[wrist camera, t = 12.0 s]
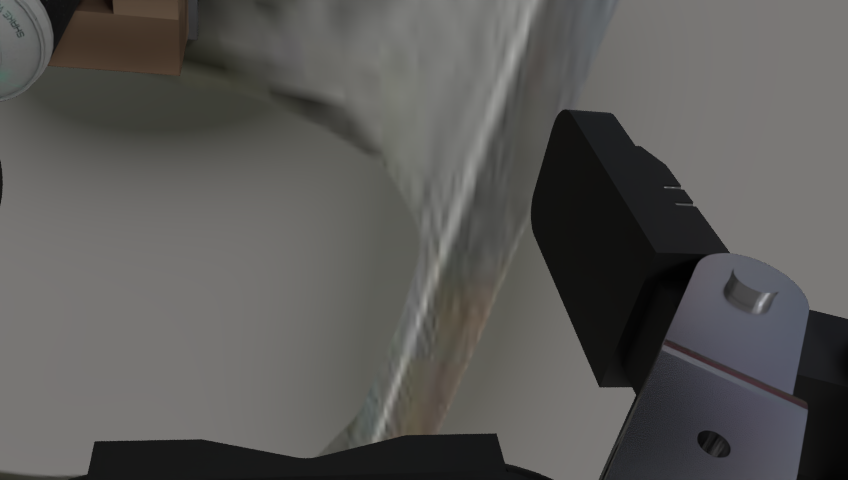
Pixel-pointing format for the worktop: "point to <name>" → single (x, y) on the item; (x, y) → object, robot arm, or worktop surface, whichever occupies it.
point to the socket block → (128, 36)
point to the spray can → (29, 40)
